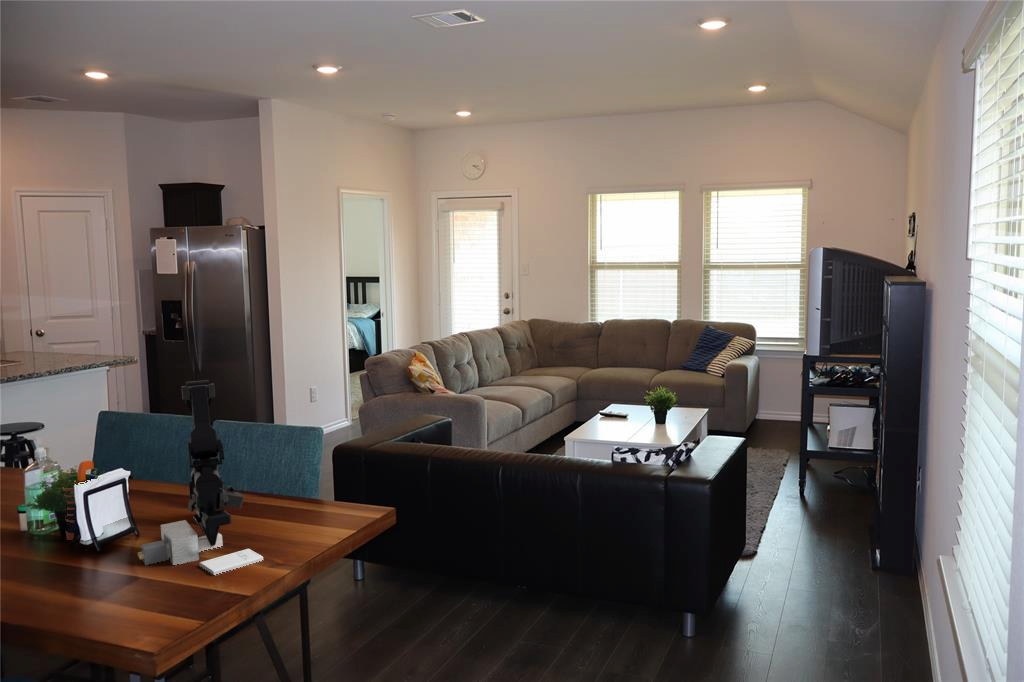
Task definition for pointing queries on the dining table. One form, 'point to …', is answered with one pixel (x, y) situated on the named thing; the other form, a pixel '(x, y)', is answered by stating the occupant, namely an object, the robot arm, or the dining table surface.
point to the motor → (79, 478)
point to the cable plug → (161, 551)
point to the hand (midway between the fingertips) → (211, 543)
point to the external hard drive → (231, 561)
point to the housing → (180, 542)
